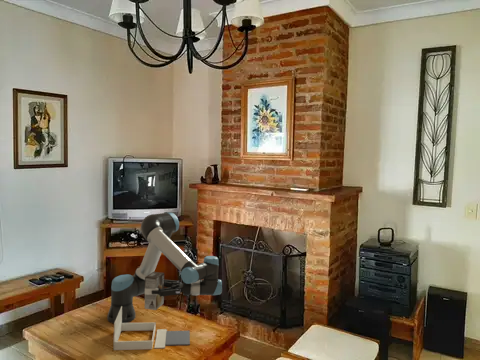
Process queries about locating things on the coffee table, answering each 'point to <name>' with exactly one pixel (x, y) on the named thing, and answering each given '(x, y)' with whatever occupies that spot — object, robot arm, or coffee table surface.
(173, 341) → the mat
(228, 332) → the coffee table surface
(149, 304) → the coffee box
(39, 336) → the coffee table surface
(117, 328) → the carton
